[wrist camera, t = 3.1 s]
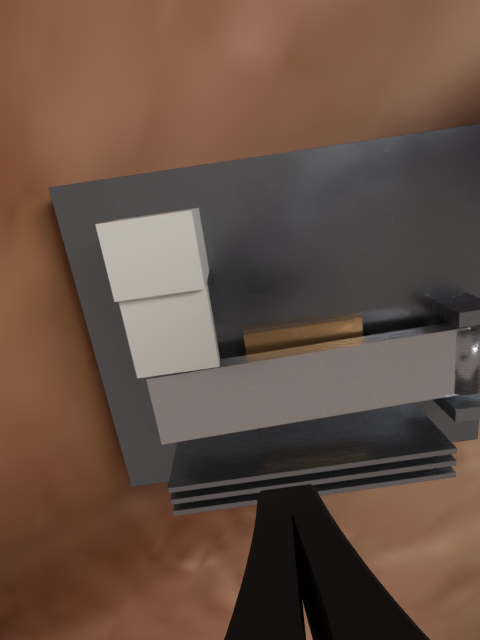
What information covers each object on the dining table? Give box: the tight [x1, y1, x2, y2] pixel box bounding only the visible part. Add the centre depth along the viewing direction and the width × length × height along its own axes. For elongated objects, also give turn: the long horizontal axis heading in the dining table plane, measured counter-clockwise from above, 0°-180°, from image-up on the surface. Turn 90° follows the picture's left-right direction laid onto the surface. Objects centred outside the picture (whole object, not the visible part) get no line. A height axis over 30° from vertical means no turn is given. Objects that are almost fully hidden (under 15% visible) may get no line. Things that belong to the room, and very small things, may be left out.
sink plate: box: [49, 124, 480, 516], centre depth 16 cm, size 17×14×4 cm
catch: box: [95, 208, 220, 378], centre depth 14 cm, size 3×6×3 cm, turn 8°
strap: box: [146, 322, 480, 445], centre depth 16 cm, size 14×3×1 cm, turn 98°
